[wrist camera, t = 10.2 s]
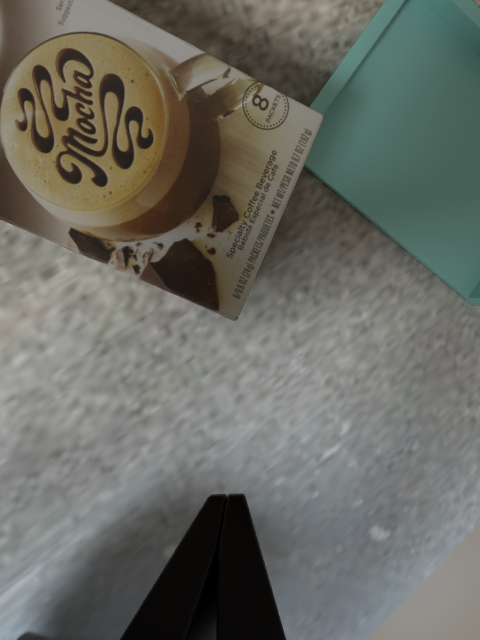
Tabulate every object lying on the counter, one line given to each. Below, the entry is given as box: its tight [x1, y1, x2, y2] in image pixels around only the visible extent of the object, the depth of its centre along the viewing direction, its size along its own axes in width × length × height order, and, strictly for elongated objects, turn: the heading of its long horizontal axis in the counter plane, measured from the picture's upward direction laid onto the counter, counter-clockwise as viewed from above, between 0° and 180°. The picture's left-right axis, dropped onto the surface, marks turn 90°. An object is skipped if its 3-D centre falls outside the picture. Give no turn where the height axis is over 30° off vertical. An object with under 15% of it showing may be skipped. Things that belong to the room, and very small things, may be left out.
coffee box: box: [0, 0, 324, 321], centre depth 17 cm, size 9×6×16 cm
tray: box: [304, 0, 480, 306], centre depth 22 cm, size 12×15×2 cm
